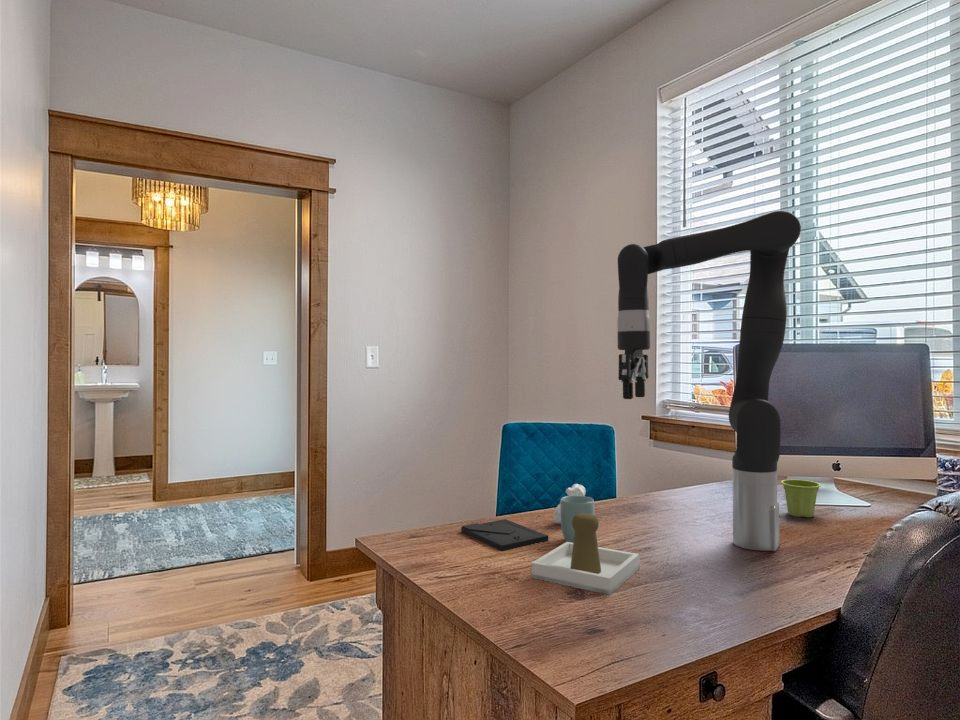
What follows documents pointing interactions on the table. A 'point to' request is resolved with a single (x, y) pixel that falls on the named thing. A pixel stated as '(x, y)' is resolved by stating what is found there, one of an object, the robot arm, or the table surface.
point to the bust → (574, 491)
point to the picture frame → (503, 534)
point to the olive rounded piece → (585, 543)
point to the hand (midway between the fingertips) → (634, 398)
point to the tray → (607, 581)
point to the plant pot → (800, 497)
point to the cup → (573, 513)
